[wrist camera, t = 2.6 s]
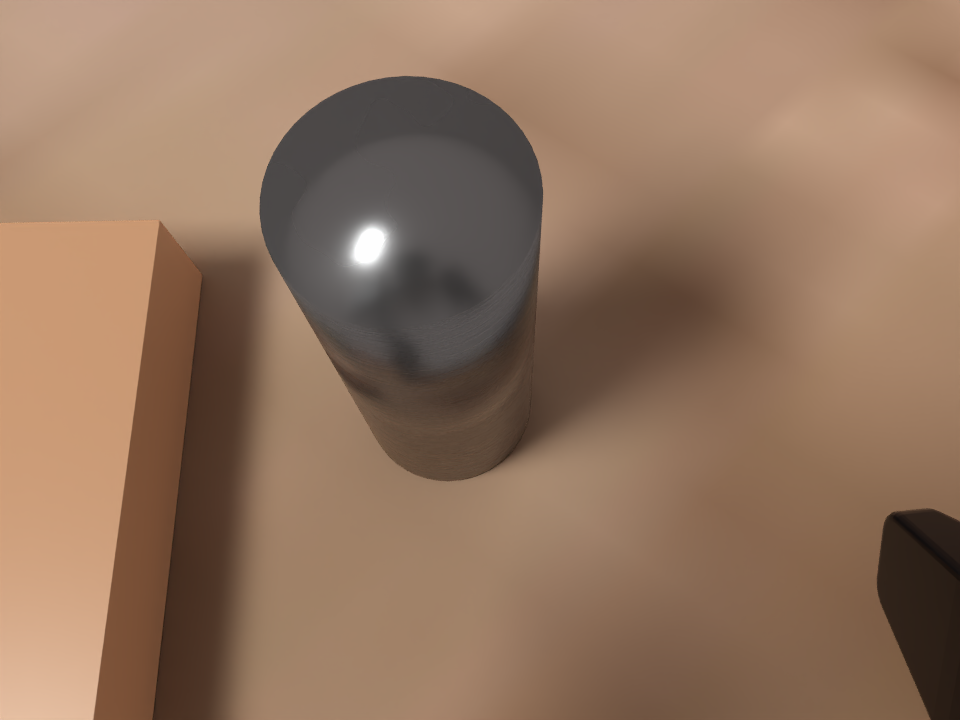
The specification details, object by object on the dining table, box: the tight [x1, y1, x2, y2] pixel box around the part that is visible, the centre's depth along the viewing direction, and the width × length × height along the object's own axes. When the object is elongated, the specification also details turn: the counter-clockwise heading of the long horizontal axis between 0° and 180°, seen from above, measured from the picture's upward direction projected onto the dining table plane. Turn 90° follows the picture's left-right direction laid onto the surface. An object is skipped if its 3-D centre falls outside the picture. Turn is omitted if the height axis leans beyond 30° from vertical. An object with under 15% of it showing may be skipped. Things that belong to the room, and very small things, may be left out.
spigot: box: [260, 76, 543, 481], centre depth 17 cm, size 4×4×10 cm
